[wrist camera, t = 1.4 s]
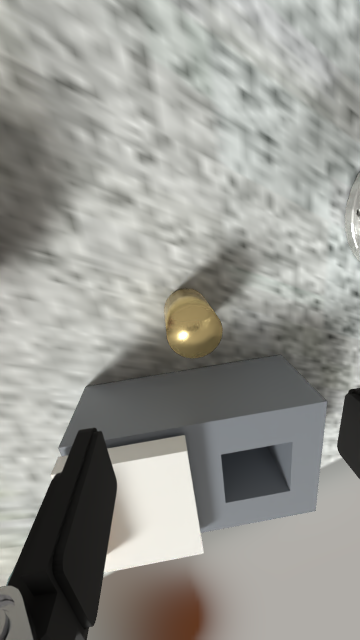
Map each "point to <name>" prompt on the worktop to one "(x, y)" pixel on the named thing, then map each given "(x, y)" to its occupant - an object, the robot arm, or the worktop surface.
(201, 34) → the worktop surface
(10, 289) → the worktop surface
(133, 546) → the lid
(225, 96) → the worktop surface
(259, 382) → the housing
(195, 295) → the peg
